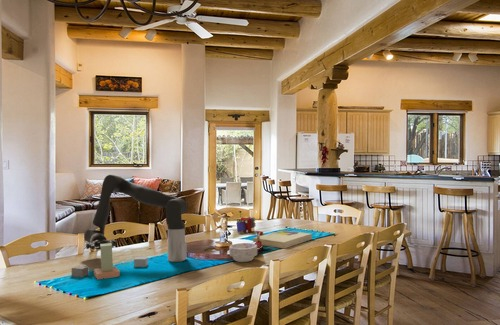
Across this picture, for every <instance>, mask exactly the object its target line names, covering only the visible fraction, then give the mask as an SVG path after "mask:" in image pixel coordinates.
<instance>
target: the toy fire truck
mask: <svg viewBox="0 0 500 325" xmlns="http://www.w3.org/2000/svg"><path fill="white" fill-rule="evenodd" d="M256 235H257V236H256V237H257V240H258V241H257V242H256V243H255V245H257V248H260V247H261V245H262V241H260V236H263V235H264V231H257V232H256ZM262 246H263V245H262Z"/></svg>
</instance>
